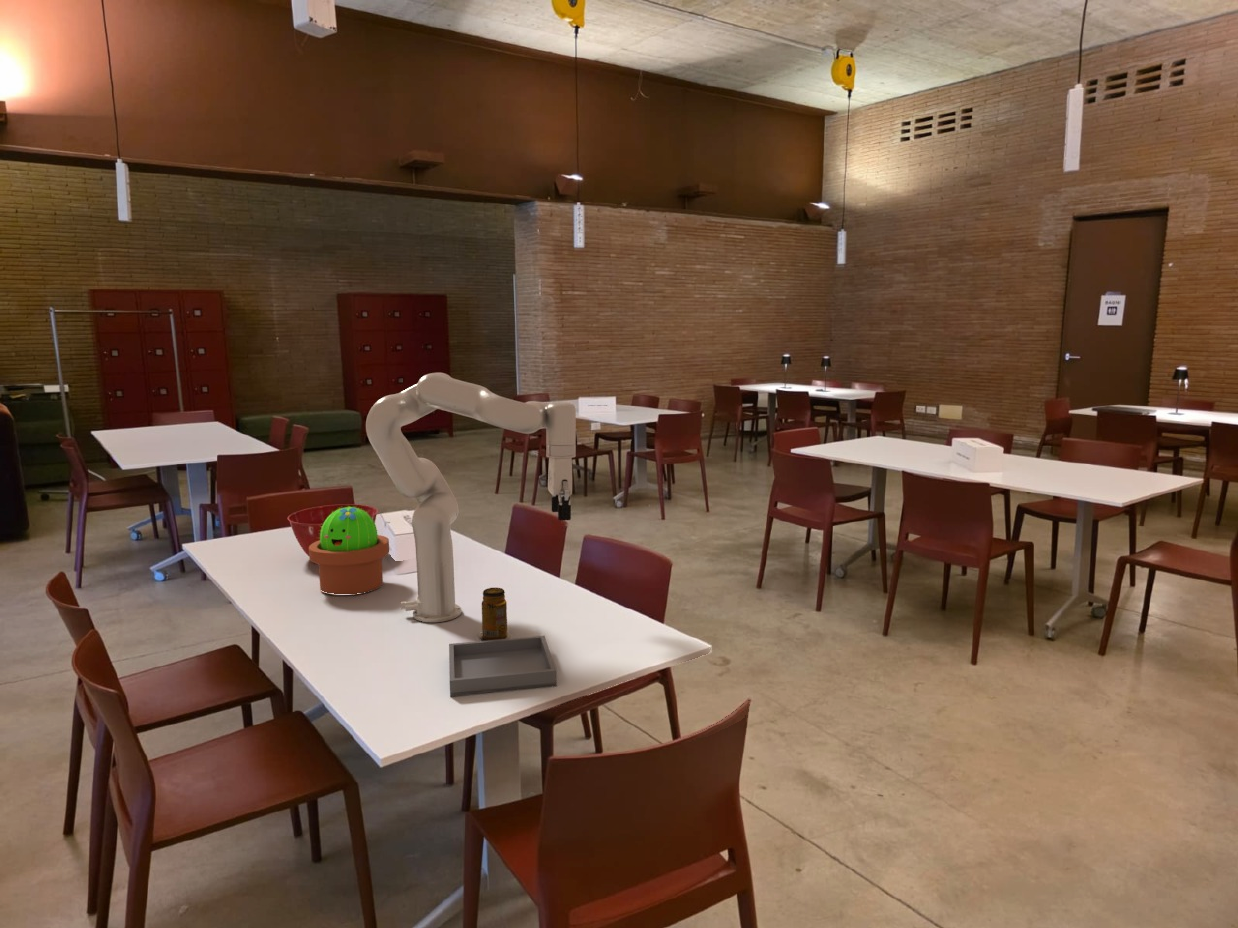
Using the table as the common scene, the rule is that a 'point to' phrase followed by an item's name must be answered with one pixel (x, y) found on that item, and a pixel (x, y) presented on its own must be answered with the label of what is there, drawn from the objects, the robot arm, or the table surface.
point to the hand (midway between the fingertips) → (560, 515)
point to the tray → (500, 666)
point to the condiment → (494, 615)
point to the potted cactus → (349, 552)
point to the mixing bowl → (318, 522)
